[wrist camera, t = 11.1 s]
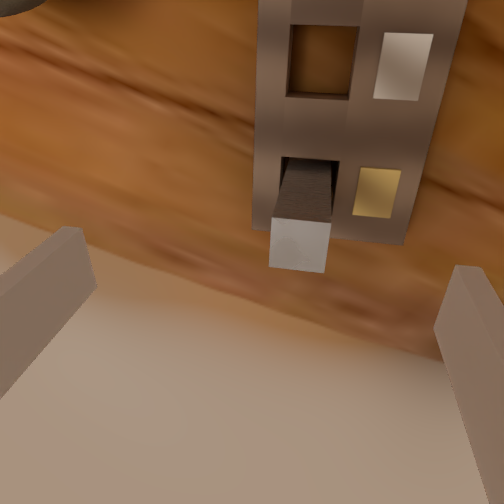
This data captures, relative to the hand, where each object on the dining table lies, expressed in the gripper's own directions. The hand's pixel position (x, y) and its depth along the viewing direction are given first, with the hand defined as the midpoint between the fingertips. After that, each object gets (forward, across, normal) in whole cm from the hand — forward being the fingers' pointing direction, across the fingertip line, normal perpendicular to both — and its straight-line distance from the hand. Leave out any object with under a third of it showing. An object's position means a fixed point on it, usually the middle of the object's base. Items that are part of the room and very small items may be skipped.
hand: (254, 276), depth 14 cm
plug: (+22, +1, -4) cm, 22 cm away
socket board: (+22, +3, 0) cm, 22 cm away
